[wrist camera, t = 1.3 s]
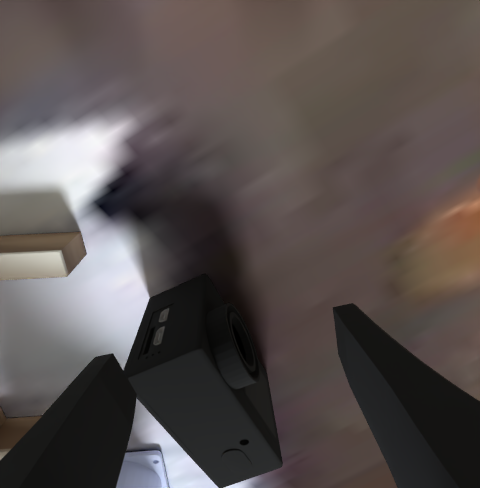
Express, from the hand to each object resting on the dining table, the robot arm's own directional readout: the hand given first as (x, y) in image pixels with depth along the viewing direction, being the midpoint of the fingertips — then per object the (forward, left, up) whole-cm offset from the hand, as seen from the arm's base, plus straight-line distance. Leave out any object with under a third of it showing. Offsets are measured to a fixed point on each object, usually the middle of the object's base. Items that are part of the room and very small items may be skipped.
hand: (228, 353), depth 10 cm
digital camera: (-8, +1, -10) cm, 13 cm away
